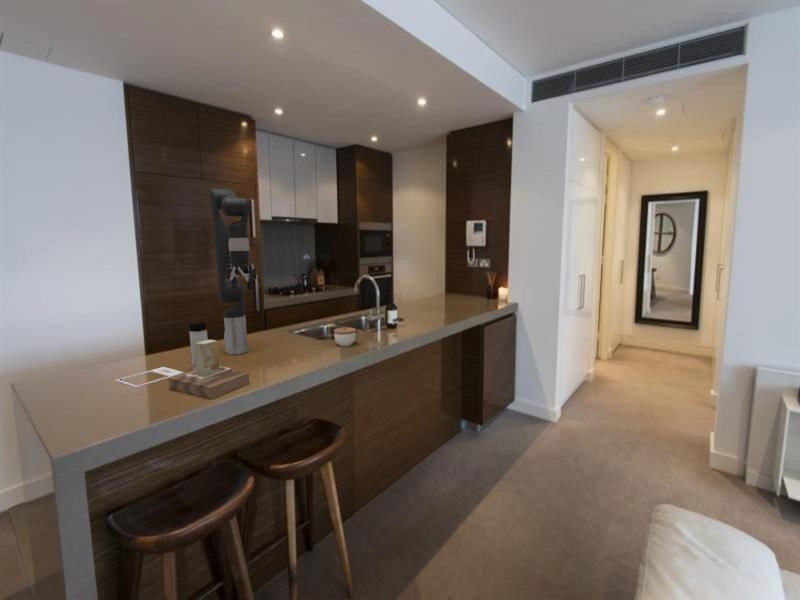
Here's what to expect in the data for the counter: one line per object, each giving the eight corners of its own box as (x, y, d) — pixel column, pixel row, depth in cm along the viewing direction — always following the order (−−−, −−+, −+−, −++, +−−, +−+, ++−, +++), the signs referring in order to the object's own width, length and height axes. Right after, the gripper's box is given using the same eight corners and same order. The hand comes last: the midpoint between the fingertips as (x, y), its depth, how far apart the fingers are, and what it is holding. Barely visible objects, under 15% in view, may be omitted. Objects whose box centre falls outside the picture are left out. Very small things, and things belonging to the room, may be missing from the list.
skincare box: (205, 378, 141) (202, 344, 139) (197, 376, 143) (193, 342, 141) (220, 372, 147) (218, 340, 145) (212, 371, 149) (209, 338, 147)
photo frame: (183, 371, 160) (135, 386, 145) (184, 374, 160) (135, 389, 145) (163, 366, 167) (115, 379, 152) (163, 368, 167) (115, 382, 152)
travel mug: (193, 373, 159) (188, 324, 156) (193, 369, 165) (188, 321, 162) (210, 371, 162) (206, 322, 159) (209, 366, 168) (205, 319, 165)
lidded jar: (354, 347, 194) (353, 328, 193) (332, 347, 195) (331, 328, 193) (357, 342, 205) (356, 324, 204) (336, 342, 205) (335, 324, 204)
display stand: (169, 388, 143) (168, 374, 142) (208, 375, 157) (207, 361, 156) (211, 399, 133) (210, 383, 132) (249, 383, 147) (248, 369, 147)
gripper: (218, 249, 160) (222, 290, 162) (244, 249, 153) (247, 292, 156) (234, 249, 166) (237, 288, 169) (259, 249, 160) (262, 289, 162)
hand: (242, 290), depth 162 cm, fingers open, 8 cm apart
